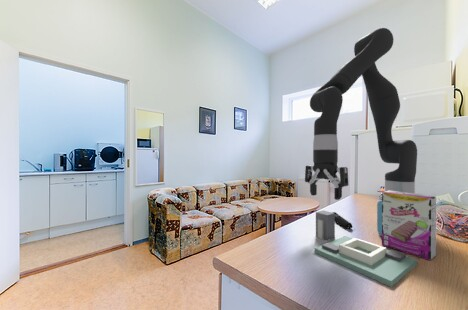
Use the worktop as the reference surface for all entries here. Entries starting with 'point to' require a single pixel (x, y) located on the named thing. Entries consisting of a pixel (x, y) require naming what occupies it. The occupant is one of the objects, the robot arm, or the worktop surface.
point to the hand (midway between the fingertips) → (324, 197)
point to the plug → (325, 225)
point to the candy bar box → (409, 223)
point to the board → (368, 259)
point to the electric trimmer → (342, 221)
